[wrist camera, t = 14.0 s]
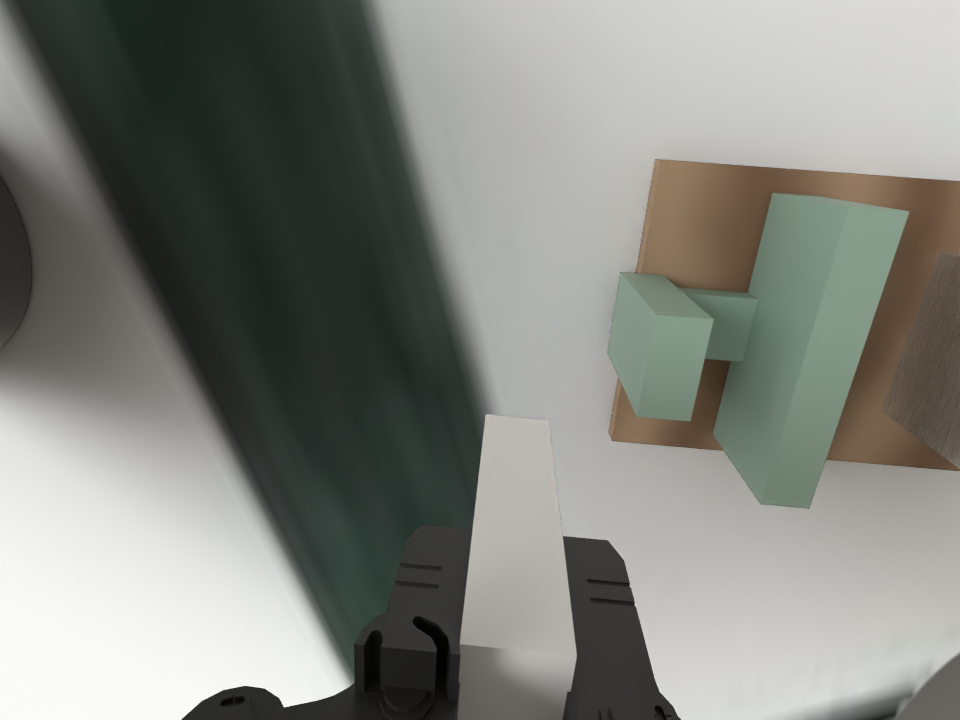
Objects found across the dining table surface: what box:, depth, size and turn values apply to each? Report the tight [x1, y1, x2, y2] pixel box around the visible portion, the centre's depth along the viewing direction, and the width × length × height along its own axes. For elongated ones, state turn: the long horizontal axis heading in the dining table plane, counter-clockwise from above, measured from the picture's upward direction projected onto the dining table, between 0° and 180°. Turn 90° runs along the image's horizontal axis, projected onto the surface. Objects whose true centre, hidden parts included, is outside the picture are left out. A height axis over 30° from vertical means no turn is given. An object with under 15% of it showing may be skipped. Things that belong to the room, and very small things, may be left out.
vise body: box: [609, 159, 960, 471], centre depth 24 cm, size 22×14×8 cm, turn 86°
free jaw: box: [608, 193, 909, 509], centre depth 23 cm, size 8×12×7 cm, turn 176°
